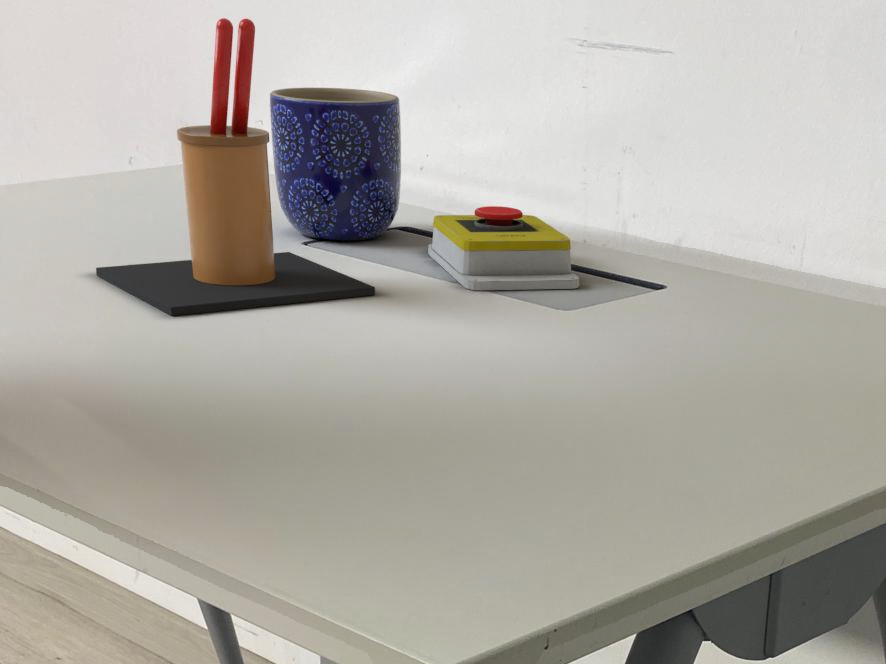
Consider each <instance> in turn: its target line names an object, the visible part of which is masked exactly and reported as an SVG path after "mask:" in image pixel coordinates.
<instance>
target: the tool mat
mask: <svg viewBox="0 0 886 664" xmlns="http://www.w3.org/2000/svg"><path fill="white" fill-rule="evenodd" d="M274 262H275V279H274V280H272V281H270V282H267V283H263V284H257V285H246V286H225V285H214V284H208V283H203V282H200V281H198V280H196V279H194V277H193V269H192V259H184V260H173V261H161V262H147V263H137V264H136V263H135V264H125V265H124V264H123V265H113V266H101V267H96V268H95V272H96V276H97V277H99V278H100V279H102V280H104V281H106V282H108V283H110V284H111V285H114V286H115V287H117V288H119V289H121V290H122V291H125V292H127V293H128V294H130V295H133V296H134V297H136V298H138V299H140V300H142V301H144V302H145V303H147V304H149V305H151V306H153V307H155V308H157V309H158V310H160V311H162V312H164V313H166V314H168V315H170V316H171V317H174V316H175V317H176V316H184V315H185V316H186V315H192V314H193V315H194V314H203V313H214V312H222V311H223V312H224V311H232V310H233V311H234V310H241V309H249V308H250V309H252V308H263V307H270V306H280V305H290V304H300V303H309V302H318V301H319V302H320V301H329V300H338V299H348V298H357V297H367V296H369V297H370V296H375V295H376V287H375V286H373V285H372V284H369V283H366V282H364V281H361V280H359V279H356V278H354V277H351V276H349V275H347V274H344V273H342V272H339V271H337V270H334V269H331V268H330V267H327V266H326V265H325V266H324V265H322V264H319V263H317V262H314V261H312V260H310V259H308V258H305V257H303V256H300V255H298V254H295V253H293V252H290V251H283V252H274Z"/></svg>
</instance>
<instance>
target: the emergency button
mask: <svg viewBox="0 0 886 664" xmlns="http://www.w3.org/2000/svg"><path fill="white" fill-rule="evenodd" d="M432 226H433V229H432V230H433V231H432V243H430V244H428V245H427V246H428V247H427V248H428V249H427V252H428V253H427V254H428V255H429V256H430V258H431V259H433V260H434V262H436V263H437V264H438V265H440V266H441V267H442V268H443V270H445V271H446V272H447V273H448V274H449V275H450V276H451V277H453V279H455V280H456V281H457V282H458V283H459V284H460V285H461V286H462V287H463V288H465V289H466V290H471V291H519V290H520V291H521V290H522V291H523V290H525V291H527V290H529V291H531V290H566V289H567V290H571V289H574V290H575V289H577V288H580V276H578V275H577V274H575V273H574V272H573V271H572V261H571V260H572V258H571V256H572V255H571V248H572V247H571V238H570V237H569V236H567V235H565V234H564V233H562V232H561V231H559V230H557V229H556V228H554V227H553V226H551V225H550V224H549V223H547V222H545V221H544V220H542V219H541V218H539V217H537V216H535V215H532V214H531V215H529V214H524V213H523V212H522V210H520V209H518V208H515V207H508V206H497V205H496V206H494V205H492V206H490V205H489V206H482V207H477V208H476V209H475V210H474V214H440V215H434V218H433V223H432Z"/></svg>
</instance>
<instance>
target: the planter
mask: <svg viewBox="0 0 886 664" xmlns="http://www.w3.org/2000/svg"><path fill="white" fill-rule="evenodd" d="M400 103H401V102H400V98H399V97H398V96H397V95H395V94H392V93H388V92H383V91H377V90H367V89H357V88H342V87H290V88H289V87H288V88H280V89H274V90H272V91H271V92H269V111H270V113H269V114H270V115H269V116H270V131H271V132H270V133H271V145H272V158H273V159H272V160H273V168H274V178H275V185H276V192H277V197H278V201H279V206H280V208H281V210H282V212H283V215H284V216H285V218H286V219H287V221H288V222H289V224H290V225H291V227H293V228H294V230H296V231H297V232H299V233H300V234H302V235H304V236H306V237H308V238H313V239H318V240H325V241H340V242H342V241H343V242H344V241H348V242H349V241H350V242H351V241H352V242H353V241H365V240H371V239H376V238H377V237H380V236H381V235H383V234H384V233H385V232H386V231H388V229H389V227H390V226H391V225H392V223H393V221H394V219H395V217H396V215H397V214H398V211H399V205H400V197H401V181H402V135H401V134H402V129H401V127H402V126H401V104H400Z"/></svg>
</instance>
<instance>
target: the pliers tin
mask: <svg viewBox="0 0 886 664" xmlns="http://www.w3.org/2000/svg"><path fill="white" fill-rule="evenodd" d="M215 25H216V26H215V39H214V56H213V57H214V58H213V73H212V74H213V75H212V90H211V92H212V93H211V107H210V122H209V123H210V124H209V125H206V124H205V125H191V126H189V125H188V126H183V127H180V128H178V129H176V137H177V140H178V141H179V142H180V149H181V150H180V152H181V161H182V172H183V182H184V192H185V203H186V204H185V205H186V215H187V225H188V226H187V227H188V235H189V236H188V238H189V246H190V256H191V257H190V258H191V260H192V269H193V277H194V279H196V280H198V281H200V282H203V283H208V284H214V285H225V286H246V285H257V284H263V283H267V282H270V281H272V280H274V279H275V262H274V253H275V251H274V250H275V249H274V235H273V234H274V233H273V218H272V217H273V216H272V203H271V202H272V201H271V200H272V199H271V188H270V187H271V186H270V170H269V158H268V157H269V156H268V154H269V153H268V143H269V142H270V132H269V131H267V130H265V129H262V128H256V127H250V126H248V125H249V116H250V115H249V114H250V113H249V112H250V101H251V88H252V75H253V63H254V52H255V51H254V50H255V38H256V37H255V36H256V26H255V23H254V22H253V20H251V19H249V18H243V19H241V20H240V21H239V22H238V28H237V42H236V55H235V57H236V59H235V71H234V72H235V73H234V83H233V84H234V87H233V98H232V99H233V100H232V114H231V125H228V111H229V98H230V97H229V96H230V84H231V83H230V81H231V67H232V55H233V53H232V51H233V38H234V25H233V23H232V22H231V20H229V19H228V18H225V17H222V18H220V19H218V20H217V22H216V24H215Z"/></svg>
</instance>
